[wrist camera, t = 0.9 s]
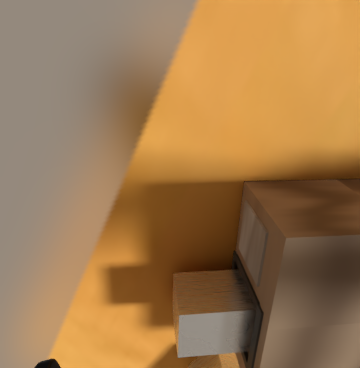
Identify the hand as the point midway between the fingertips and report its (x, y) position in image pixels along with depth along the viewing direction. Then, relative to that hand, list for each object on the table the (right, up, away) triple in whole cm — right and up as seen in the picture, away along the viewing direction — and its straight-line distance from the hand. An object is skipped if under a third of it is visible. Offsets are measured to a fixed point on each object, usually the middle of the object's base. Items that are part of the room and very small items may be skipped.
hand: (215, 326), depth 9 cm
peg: (+2, -5, +16) cm, 17 cm away
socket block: (+8, -2, +17) cm, 19 cm away
